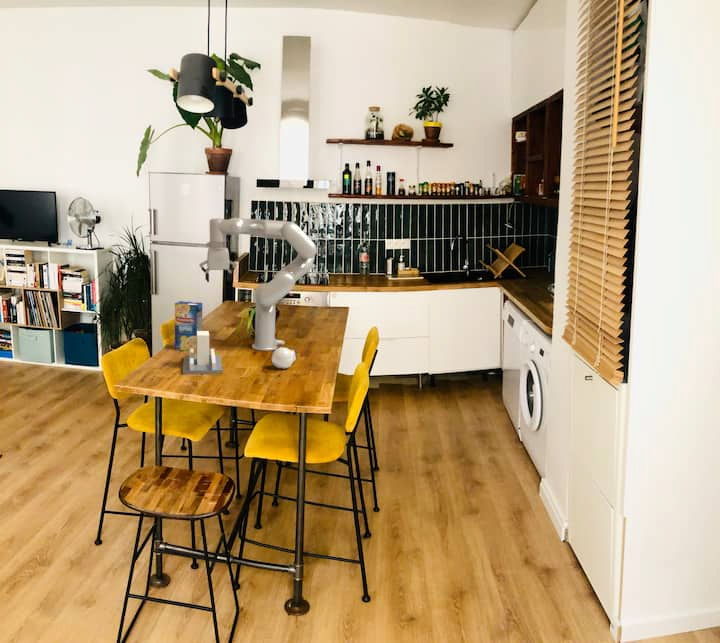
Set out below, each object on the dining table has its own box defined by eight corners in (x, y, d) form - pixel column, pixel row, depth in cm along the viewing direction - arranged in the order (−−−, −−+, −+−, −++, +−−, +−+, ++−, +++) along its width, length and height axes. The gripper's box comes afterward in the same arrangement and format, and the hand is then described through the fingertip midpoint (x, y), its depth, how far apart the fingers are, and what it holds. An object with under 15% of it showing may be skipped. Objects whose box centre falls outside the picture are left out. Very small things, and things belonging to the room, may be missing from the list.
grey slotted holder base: (220, 358, 323) (220, 348, 322) (222, 373, 298) (222, 363, 297) (183, 358, 319) (183, 348, 318) (183, 374, 294) (183, 363, 293)
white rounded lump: (274, 374, 306) (287, 369, 320) (292, 363, 303) (304, 359, 318) (264, 355, 307) (277, 352, 321) (282, 344, 304) (294, 341, 318)
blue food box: (196, 351, 333) (196, 305, 329) (174, 349, 335) (174, 303, 331) (202, 348, 340) (202, 302, 336) (180, 346, 342) (180, 301, 338)
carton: (208, 359, 313) (208, 330, 311) (209, 364, 305) (209, 335, 302) (196, 359, 312) (196, 330, 310) (196, 365, 303) (196, 335, 301)
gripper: (199, 245, 326) (200, 282, 330) (237, 246, 331) (237, 282, 335) (198, 244, 333) (199, 280, 337) (235, 244, 338) (235, 280, 342)
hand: (218, 281), depth 336 cm, fingers open, 9 cm apart
